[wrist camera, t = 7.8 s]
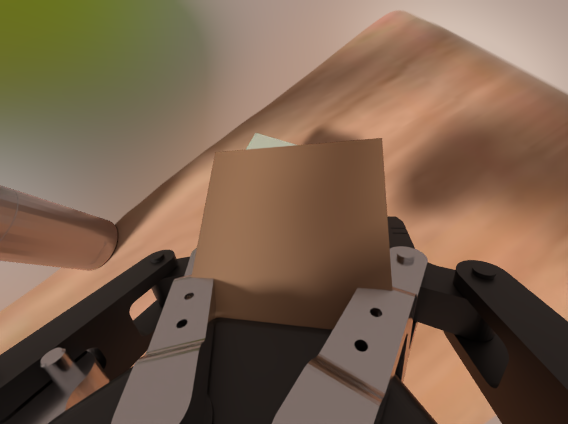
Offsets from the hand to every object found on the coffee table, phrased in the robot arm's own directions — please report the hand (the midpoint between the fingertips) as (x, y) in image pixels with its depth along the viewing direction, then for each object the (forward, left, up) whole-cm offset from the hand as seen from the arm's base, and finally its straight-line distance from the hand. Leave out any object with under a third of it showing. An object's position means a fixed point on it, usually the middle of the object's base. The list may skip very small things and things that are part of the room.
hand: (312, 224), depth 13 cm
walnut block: (+1, -2, -4) cm, 5 cm away
